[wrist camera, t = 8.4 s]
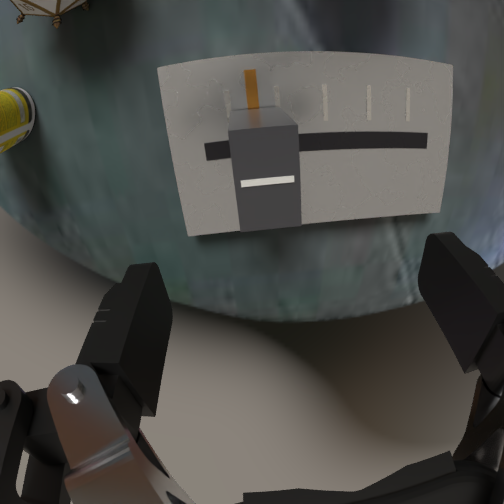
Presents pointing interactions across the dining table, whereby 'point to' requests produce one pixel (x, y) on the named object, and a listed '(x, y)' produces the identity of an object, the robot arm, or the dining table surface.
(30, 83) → the dining table surface
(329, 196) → the console board
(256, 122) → the fader knob
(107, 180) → the dining table surface
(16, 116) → the supplement bottle
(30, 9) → the game die
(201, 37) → the dining table surface
